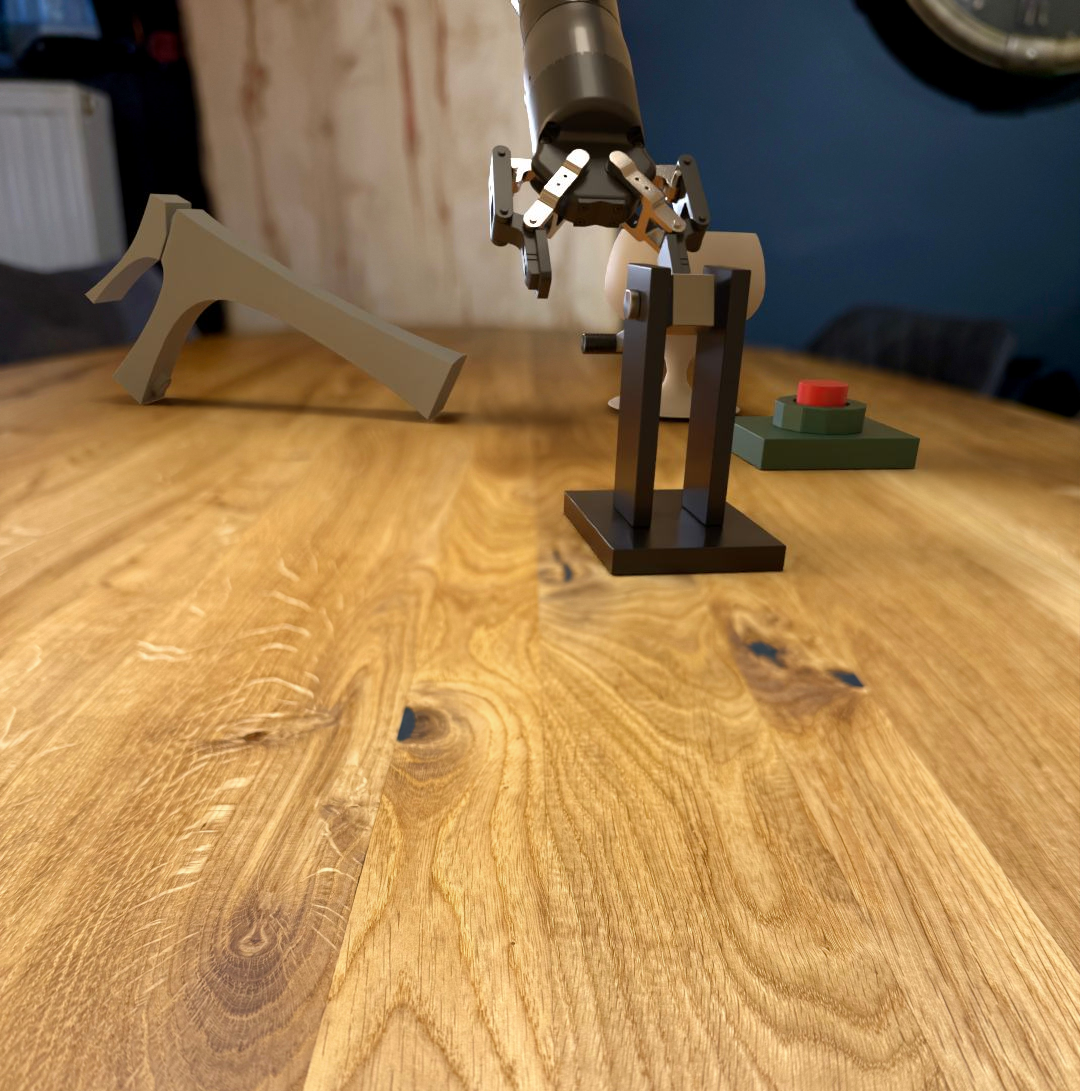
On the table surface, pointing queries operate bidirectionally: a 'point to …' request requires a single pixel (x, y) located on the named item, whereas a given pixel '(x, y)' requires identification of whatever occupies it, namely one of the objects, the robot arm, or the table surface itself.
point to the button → (822, 393)
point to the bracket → (700, 507)
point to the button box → (821, 439)
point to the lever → (669, 313)
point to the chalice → (713, 251)
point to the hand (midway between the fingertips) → (610, 291)
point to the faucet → (262, 283)
